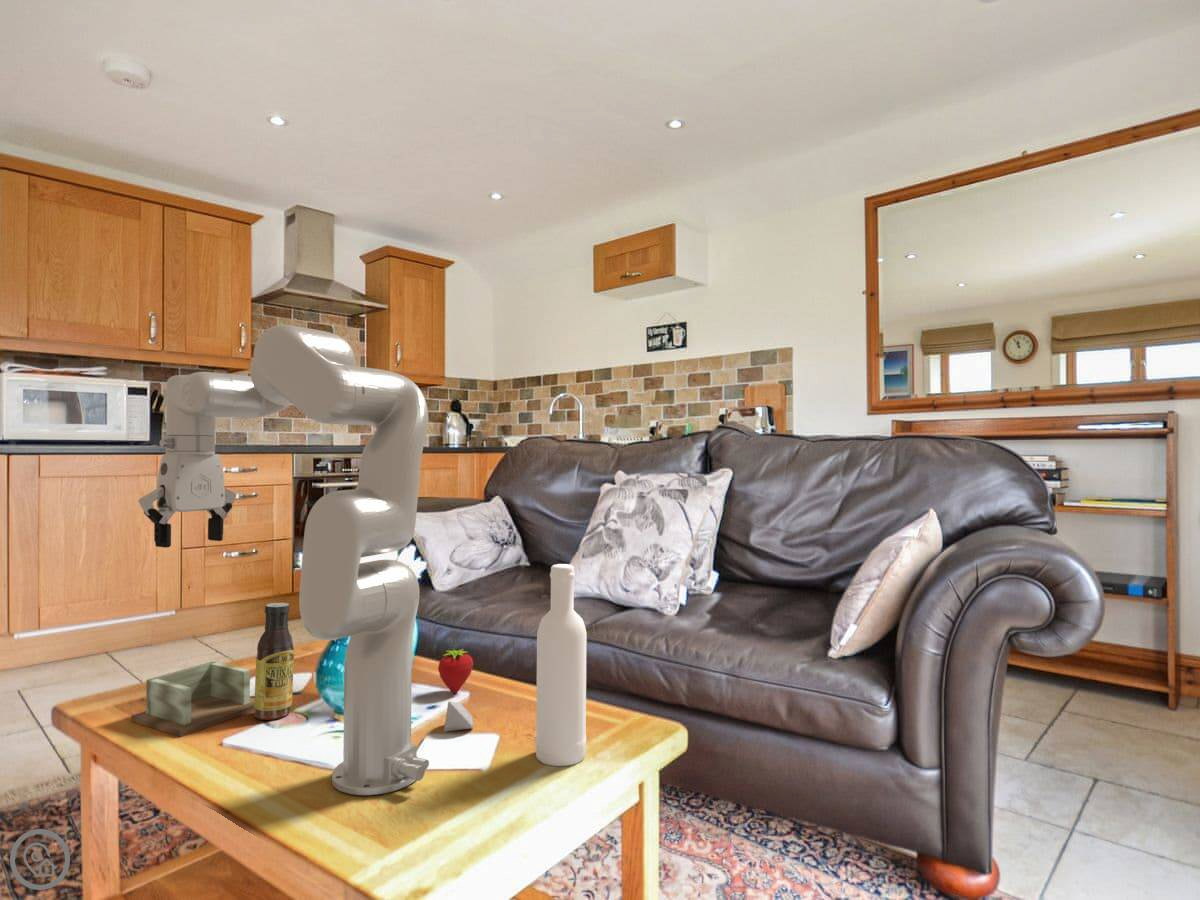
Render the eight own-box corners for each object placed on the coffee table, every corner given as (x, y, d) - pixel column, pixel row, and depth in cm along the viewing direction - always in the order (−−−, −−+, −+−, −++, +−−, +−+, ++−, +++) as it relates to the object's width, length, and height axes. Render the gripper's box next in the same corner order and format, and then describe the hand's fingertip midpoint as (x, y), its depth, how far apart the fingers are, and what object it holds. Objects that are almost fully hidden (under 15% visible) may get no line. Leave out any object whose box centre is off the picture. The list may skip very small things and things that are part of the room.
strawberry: (480, 690, 143) (480, 640, 143) (452, 701, 137) (452, 649, 137) (458, 685, 147) (459, 636, 147) (430, 695, 141) (431, 644, 141)
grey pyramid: (426, 713, 124) (448, 691, 126) (445, 733, 127) (467, 712, 129) (441, 729, 119) (464, 706, 121) (461, 750, 122) (483, 728, 124)
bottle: (595, 753, 114) (597, 564, 114) (566, 771, 108) (567, 571, 108) (556, 741, 119) (557, 560, 119) (525, 758, 112) (526, 566, 112)
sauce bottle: (265, 724, 125) (266, 610, 125) (247, 716, 129) (248, 605, 129) (300, 713, 130) (301, 604, 130) (282, 706, 134) (283, 599, 134)
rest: (265, 706, 134) (265, 668, 134) (180, 736, 119) (180, 694, 119) (216, 694, 140) (217, 658, 140) (131, 721, 126) (131, 681, 126)
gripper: (155, 446, 117) (154, 551, 117) (248, 446, 133) (247, 539, 133) (127, 445, 120) (126, 548, 120) (221, 446, 136) (220, 536, 136)
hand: (190, 543), depth 127 cm, fingers open, 9 cm apart
